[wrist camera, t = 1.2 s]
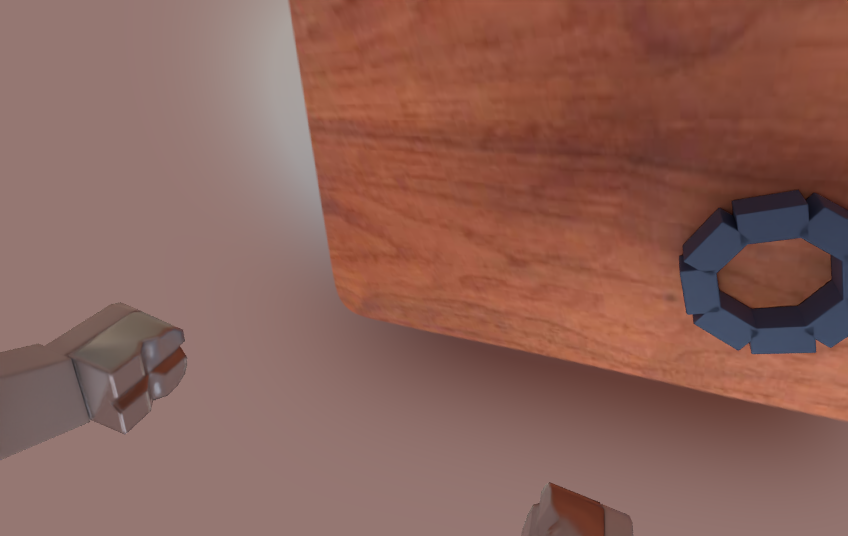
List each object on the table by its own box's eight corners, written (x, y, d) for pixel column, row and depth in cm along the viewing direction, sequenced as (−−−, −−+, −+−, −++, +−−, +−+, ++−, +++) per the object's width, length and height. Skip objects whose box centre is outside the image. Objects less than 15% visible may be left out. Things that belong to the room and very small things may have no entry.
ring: (874, 176, 26) (891, 191, 24) (874, 327, 29) (889, 351, 27) (671, 210, 31) (671, 224, 29) (691, 335, 34) (693, 355, 32)
